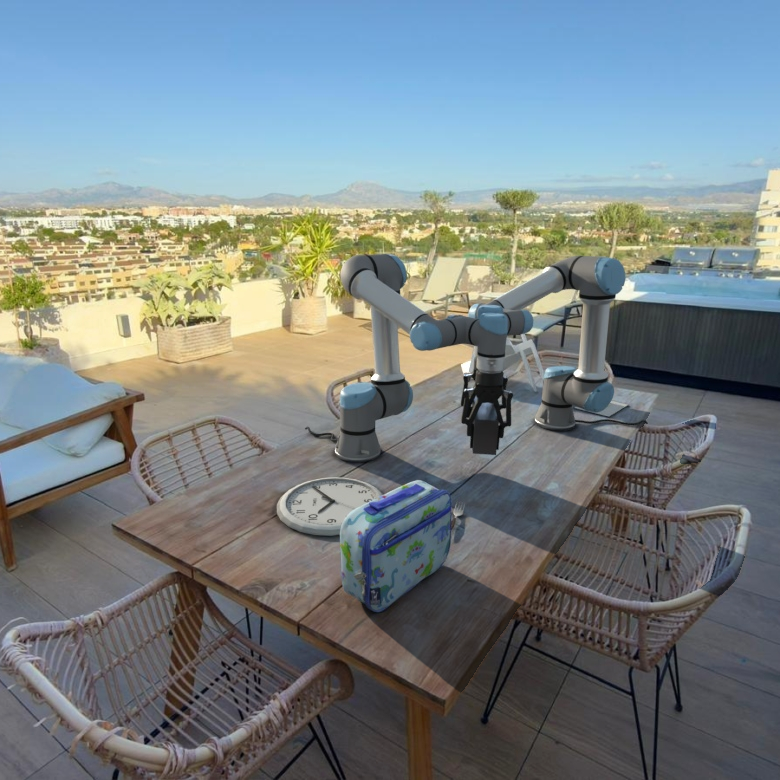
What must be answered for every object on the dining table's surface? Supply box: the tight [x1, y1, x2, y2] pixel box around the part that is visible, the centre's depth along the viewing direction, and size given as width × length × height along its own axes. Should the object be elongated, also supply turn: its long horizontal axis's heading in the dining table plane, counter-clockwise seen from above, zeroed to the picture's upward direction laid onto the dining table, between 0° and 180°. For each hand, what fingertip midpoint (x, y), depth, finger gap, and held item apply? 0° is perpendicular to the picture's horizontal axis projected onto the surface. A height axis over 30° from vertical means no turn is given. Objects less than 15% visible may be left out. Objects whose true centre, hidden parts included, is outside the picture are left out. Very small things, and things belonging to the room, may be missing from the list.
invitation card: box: [573, 400, 629, 418], centre depth 226 cm, size 21×1×15 cm
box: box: [471, 396, 500, 456], centre depth 157 cm, size 22×7×10 cm, turn 173°
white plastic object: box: [460, 333, 545, 392], centre depth 256 cm, size 37×45×31 cm
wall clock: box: [276, 476, 385, 537], centre depth 142 cm, size 30×2×30 cm
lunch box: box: [339, 479, 452, 613], centre depth 109 cm, size 26×11×21 cm, turn 134°
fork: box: [451, 500, 466, 531], centre depth 135 cm, size 3×16×2 cm, turn 160°
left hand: (484, 447), depth 151 cm, fingers closed on box, 6 cm apart
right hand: (481, 427), depth 165 cm, fingers closed on box, 7 cm apart
